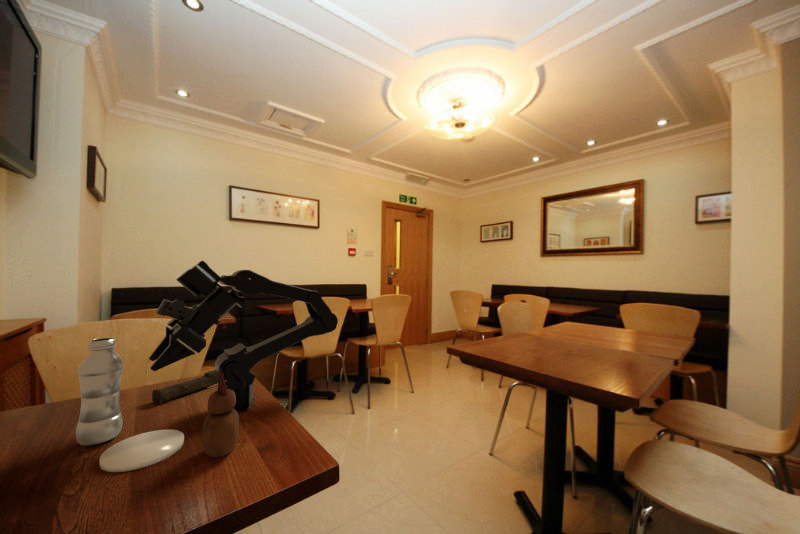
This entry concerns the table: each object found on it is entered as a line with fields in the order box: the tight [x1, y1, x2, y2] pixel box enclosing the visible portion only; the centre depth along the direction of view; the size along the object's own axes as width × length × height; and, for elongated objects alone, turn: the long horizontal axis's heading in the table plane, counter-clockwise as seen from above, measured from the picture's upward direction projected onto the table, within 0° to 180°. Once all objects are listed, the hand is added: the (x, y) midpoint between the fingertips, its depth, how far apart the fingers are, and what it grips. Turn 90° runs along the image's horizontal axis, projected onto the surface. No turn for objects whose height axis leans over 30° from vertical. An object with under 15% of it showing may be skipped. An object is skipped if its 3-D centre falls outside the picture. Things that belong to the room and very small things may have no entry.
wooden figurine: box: [202, 369, 240, 458], centre depth 57 cm, size 7×6×15 cm
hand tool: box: [151, 369, 219, 406], centre depth 85 cm, size 19×4×5 cm, turn 153°
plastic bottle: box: [75, 337, 125, 447], centre depth 60 cm, size 6×7×20 cm
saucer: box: [99, 429, 185, 473], centre depth 57 cm, size 12×12×1 cm
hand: (151, 364), depth 65 cm, fingers open, 9 cm apart
